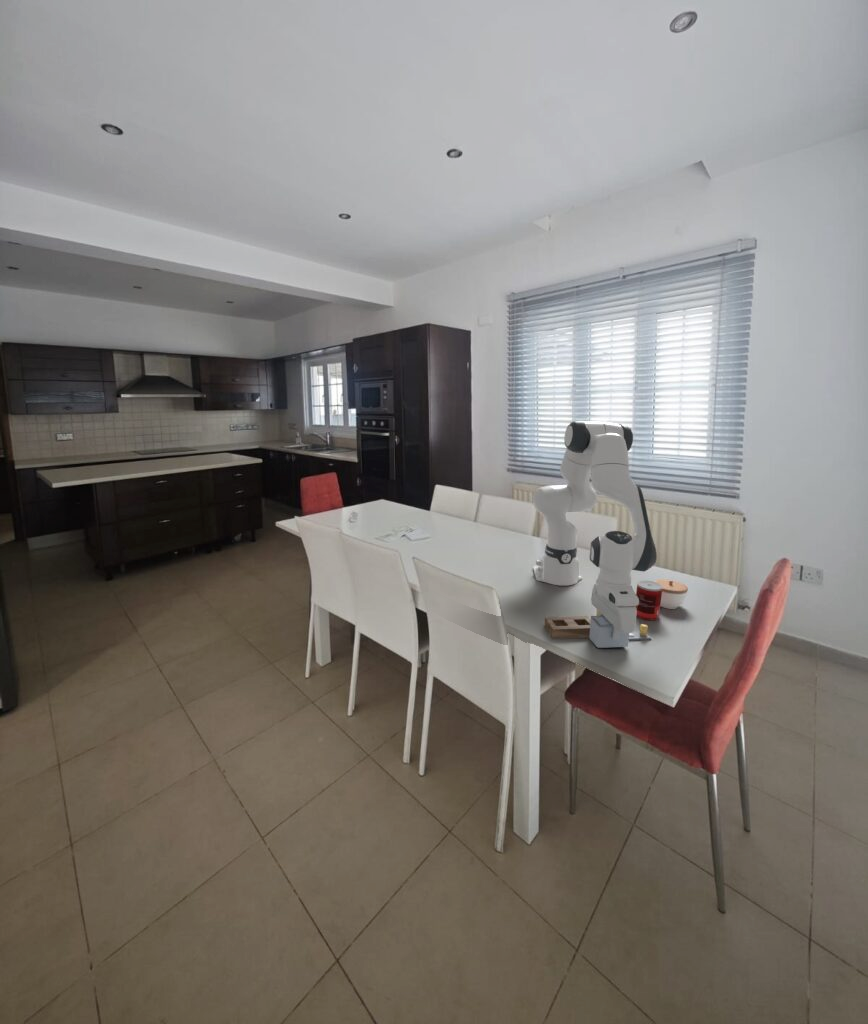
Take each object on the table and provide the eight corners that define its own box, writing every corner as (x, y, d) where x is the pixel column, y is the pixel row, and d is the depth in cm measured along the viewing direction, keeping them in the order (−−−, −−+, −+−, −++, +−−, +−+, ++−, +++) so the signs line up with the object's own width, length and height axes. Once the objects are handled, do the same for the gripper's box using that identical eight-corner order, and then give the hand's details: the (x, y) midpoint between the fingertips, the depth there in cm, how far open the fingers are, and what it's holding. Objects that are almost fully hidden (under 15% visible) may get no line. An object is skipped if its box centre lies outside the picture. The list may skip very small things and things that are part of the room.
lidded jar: (666, 613, 156) (669, 587, 154) (644, 600, 166) (647, 576, 164) (692, 610, 159) (695, 584, 156) (669, 597, 169) (672, 573, 166)
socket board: (544, 626, 146) (544, 617, 146) (586, 624, 148) (587, 616, 147) (552, 638, 139) (553, 629, 138) (597, 636, 140) (598, 627, 139)
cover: (589, 637, 137) (591, 612, 136) (617, 636, 138) (620, 611, 136) (597, 647, 132) (600, 622, 130) (627, 646, 132) (630, 621, 131)
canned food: (651, 610, 158) (655, 580, 156) (663, 620, 151) (667, 589, 148) (629, 610, 158) (633, 580, 156) (640, 620, 150) (644, 589, 148)
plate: (622, 634, 141) (623, 623, 141) (644, 633, 142) (645, 622, 141) (628, 640, 138) (630, 629, 137) (651, 639, 138) (652, 628, 137)
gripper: (587, 575, 141) (584, 616, 144) (619, 603, 121) (614, 650, 124) (607, 574, 141) (603, 615, 145) (642, 602, 122) (637, 649, 125)
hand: (609, 632), depth 134 cm, fingers closed on cover, 6 cm apart
